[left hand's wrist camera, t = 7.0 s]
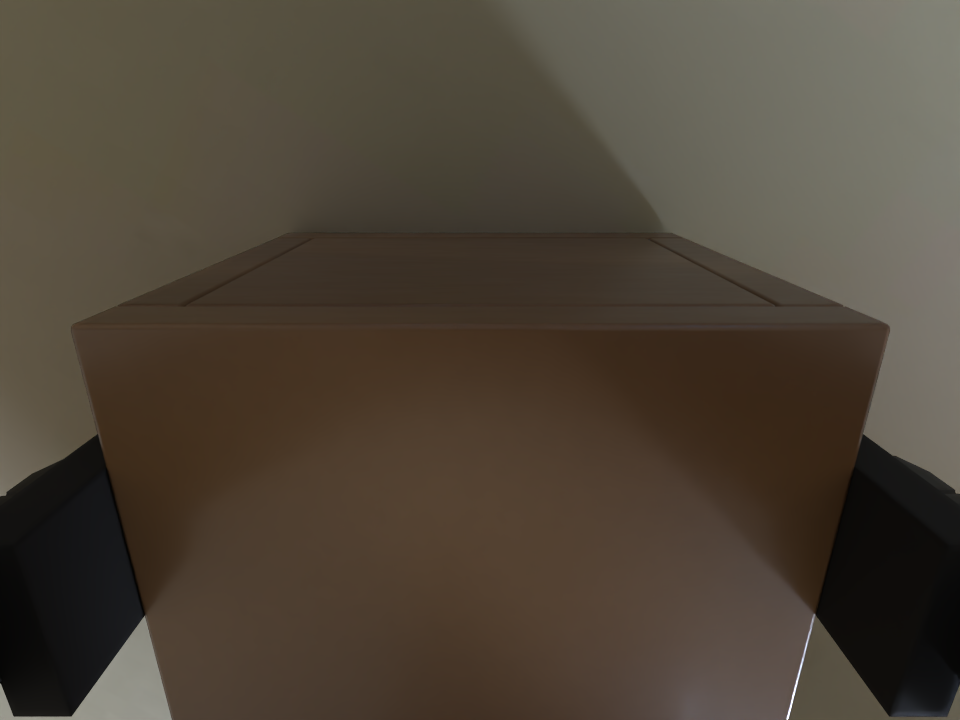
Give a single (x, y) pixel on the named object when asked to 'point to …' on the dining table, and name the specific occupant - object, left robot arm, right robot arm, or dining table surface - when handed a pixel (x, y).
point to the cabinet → (480, 475)
